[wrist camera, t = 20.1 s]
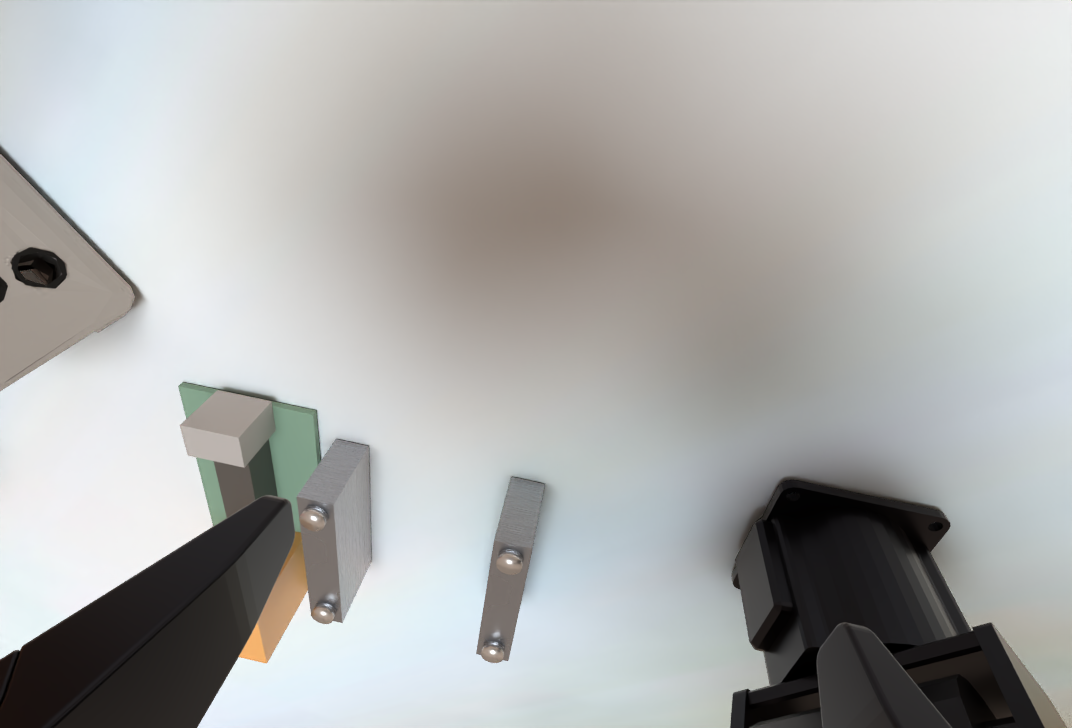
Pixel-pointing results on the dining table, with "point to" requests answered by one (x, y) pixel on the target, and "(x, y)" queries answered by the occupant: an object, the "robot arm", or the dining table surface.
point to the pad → (288, 446)
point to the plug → (248, 495)
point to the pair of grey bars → (345, 544)
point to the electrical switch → (48, 281)
